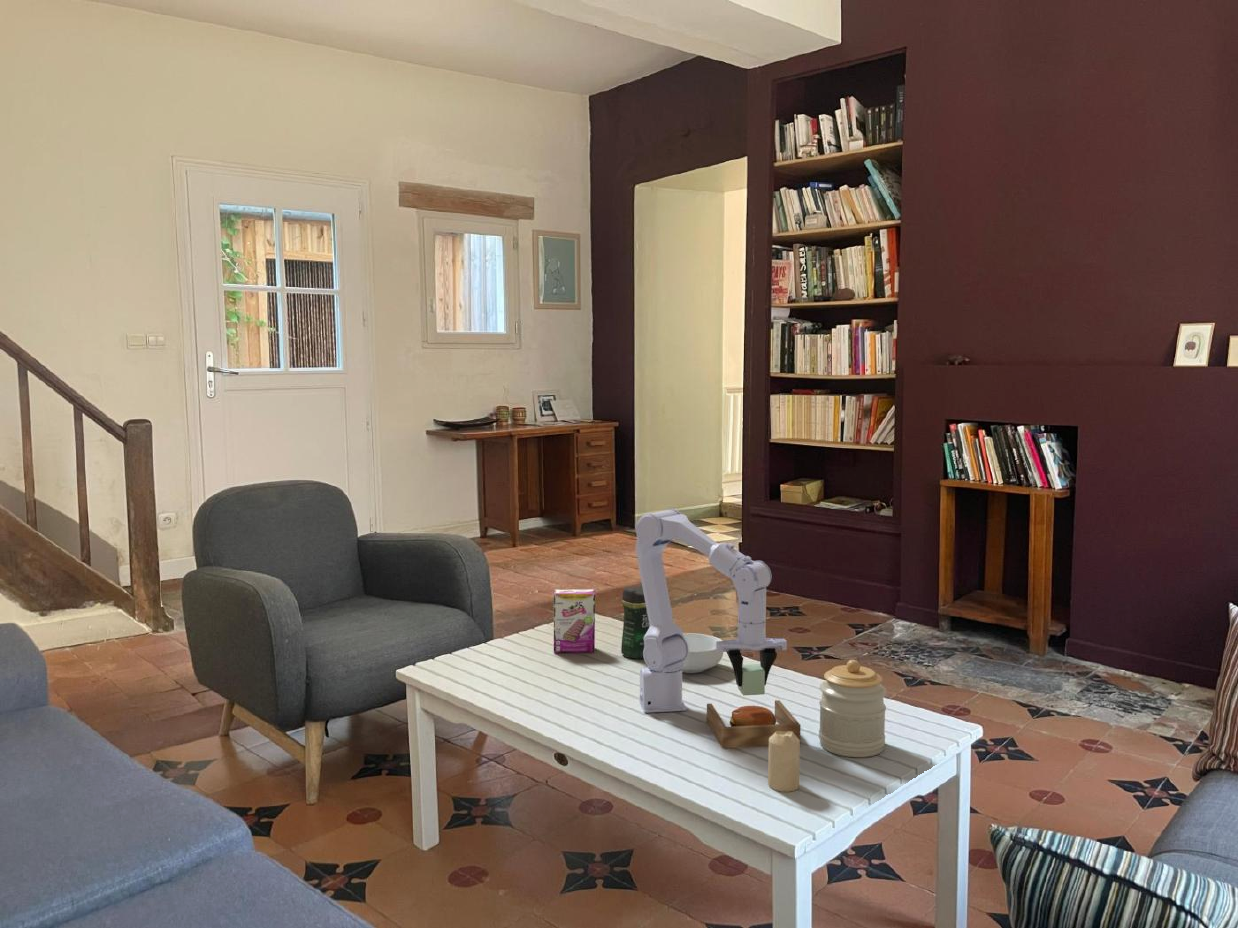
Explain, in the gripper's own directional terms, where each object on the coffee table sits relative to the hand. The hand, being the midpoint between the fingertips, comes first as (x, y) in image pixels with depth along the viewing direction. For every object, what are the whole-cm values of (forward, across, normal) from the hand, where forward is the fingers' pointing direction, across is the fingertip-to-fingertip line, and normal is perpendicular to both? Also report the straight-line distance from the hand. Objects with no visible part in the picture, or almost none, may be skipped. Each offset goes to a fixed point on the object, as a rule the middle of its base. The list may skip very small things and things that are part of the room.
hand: (751, 684), depth 197 cm
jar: (+10, +18, -10) cm, 23 cm away
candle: (+10, -1, -26) cm, 28 cm away
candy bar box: (+10, -32, +62) cm, 70 cm away
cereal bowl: (+10, -4, +42) cm, 44 cm away
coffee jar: (+10, -15, +56) cm, 58 cm away
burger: (+10, 0, 0) cm, 10 cm away
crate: (+10, 0, -1) cm, 10 cm away
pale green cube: (+2, 0, 0) cm, 2 cm away
